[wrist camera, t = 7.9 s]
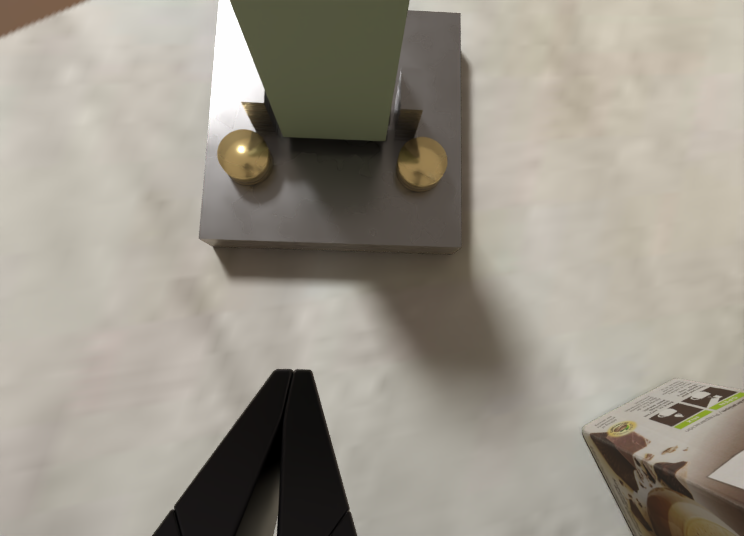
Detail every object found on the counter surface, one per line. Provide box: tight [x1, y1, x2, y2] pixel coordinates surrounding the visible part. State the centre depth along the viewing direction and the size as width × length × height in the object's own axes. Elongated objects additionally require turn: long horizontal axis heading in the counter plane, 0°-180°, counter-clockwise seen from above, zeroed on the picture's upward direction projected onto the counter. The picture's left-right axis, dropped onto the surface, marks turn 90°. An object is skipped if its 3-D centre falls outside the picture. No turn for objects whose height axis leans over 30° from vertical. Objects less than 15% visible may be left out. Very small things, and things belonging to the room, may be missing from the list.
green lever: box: [229, 0, 409, 141], centre depth 15 cm, size 3×5×13 cm, turn 88°
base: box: [199, 0, 461, 254], centre depth 21 cm, size 13×13×5 cm
